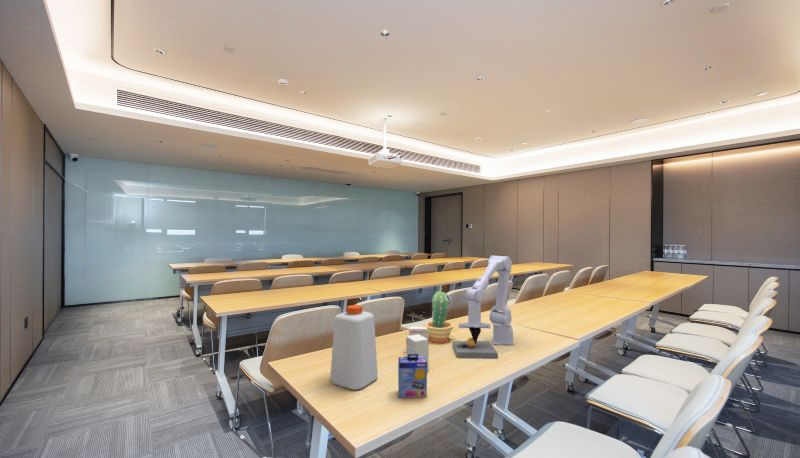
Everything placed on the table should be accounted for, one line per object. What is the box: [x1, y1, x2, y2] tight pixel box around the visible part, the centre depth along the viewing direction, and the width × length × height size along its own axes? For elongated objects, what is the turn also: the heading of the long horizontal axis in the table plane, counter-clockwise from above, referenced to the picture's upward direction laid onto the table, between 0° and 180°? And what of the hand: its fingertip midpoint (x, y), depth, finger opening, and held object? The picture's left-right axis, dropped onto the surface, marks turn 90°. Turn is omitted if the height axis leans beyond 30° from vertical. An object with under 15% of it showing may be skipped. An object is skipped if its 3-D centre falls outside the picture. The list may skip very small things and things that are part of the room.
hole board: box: [452, 340, 499, 359], centre depth 157 cm, size 18×16×2 cm
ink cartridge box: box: [397, 354, 428, 399], centre depth 116 cm, size 10×6×14 cm, turn 95°
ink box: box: [408, 325, 429, 340], centre depth 156 cm, size 9×5×12 cm, turn 84°
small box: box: [405, 334, 429, 373], centre depth 137 cm, size 8×6×13 cm
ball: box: [466, 337, 475, 347], centre depth 157 cm, size 4×4×4 cm
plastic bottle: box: [329, 304, 379, 391], centre depth 127 cm, size 15×15×28 cm
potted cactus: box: [423, 290, 454, 344], centre depth 175 cm, size 15×15×25 cm
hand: (474, 343), depth 157 cm, fingers closed, pressing on ball
